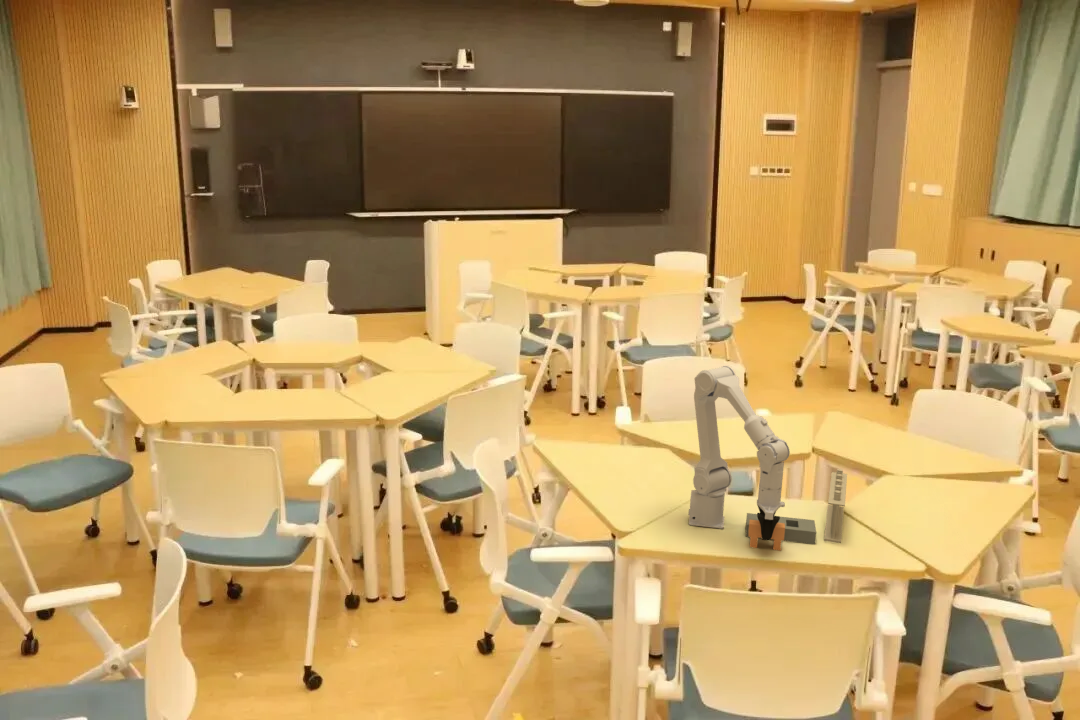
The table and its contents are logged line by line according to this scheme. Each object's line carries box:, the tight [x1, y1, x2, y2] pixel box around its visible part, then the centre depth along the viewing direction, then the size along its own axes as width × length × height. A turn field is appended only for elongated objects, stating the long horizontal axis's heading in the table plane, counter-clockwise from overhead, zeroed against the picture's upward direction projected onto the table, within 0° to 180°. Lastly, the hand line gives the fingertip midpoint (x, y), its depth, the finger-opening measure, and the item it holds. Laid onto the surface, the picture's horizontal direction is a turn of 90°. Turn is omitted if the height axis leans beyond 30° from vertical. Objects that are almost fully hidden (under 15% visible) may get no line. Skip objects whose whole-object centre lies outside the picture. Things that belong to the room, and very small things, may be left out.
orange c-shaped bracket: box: [748, 520, 785, 552], centre depth 239 cm, size 9×3×6 cm, turn 77°
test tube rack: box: [823, 468, 848, 544], centre depth 254 cm, size 25×4×13 cm, turn 161°
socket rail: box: [745, 512, 817, 545], centre depth 247 cm, size 18×8×4 cm, turn 77°
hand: (766, 534), depth 239 cm, fingers open, 6 cm apart
